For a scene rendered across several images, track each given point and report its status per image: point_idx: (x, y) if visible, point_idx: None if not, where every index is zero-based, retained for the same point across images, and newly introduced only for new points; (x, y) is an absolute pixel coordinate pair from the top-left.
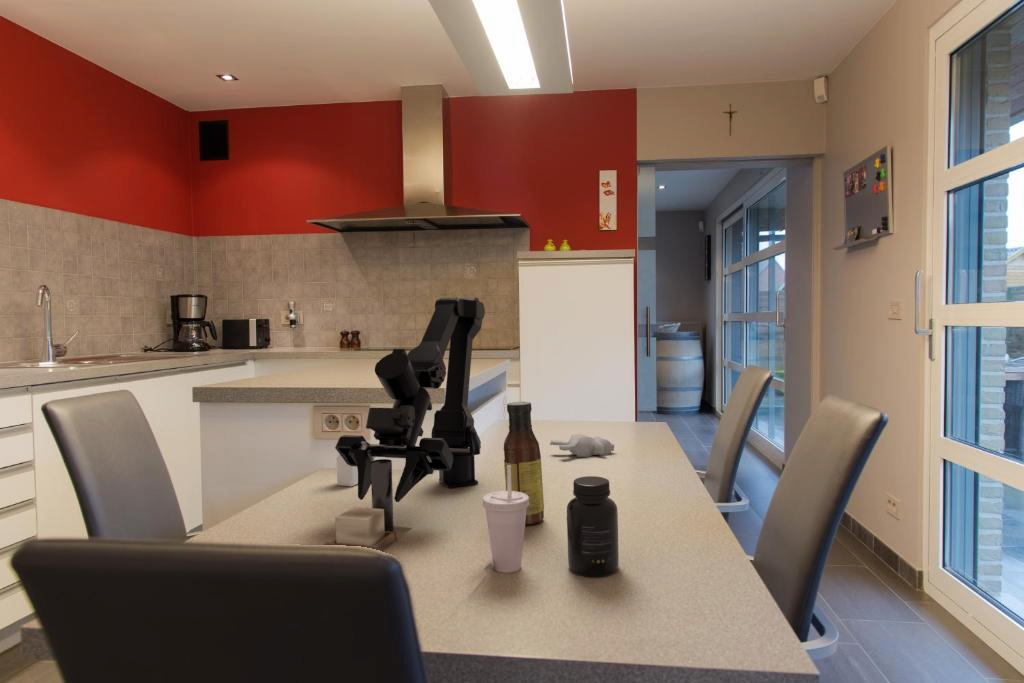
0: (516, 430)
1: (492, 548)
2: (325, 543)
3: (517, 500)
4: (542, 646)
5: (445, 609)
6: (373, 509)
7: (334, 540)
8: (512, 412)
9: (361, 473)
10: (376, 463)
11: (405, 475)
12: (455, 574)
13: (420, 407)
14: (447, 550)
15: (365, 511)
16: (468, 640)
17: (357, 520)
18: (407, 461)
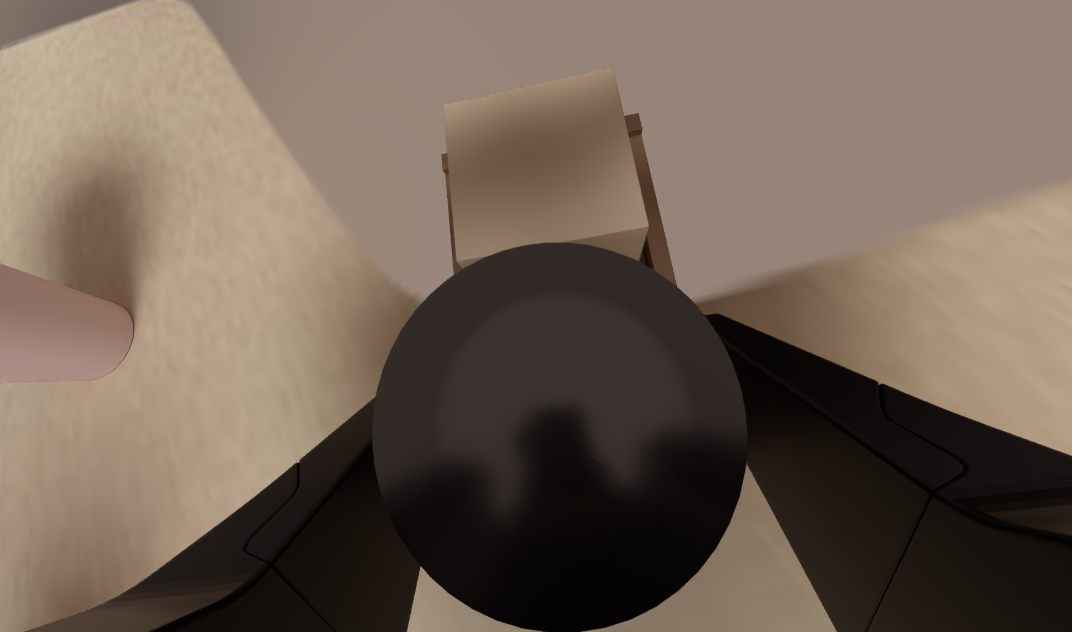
0: None
1: (50, 285)
2: (636, 118)
3: None
4: (14, 68)
5: (194, 94)
6: (507, 233)
7: (642, 173)
8: None
9: (860, 402)
10: (541, 274)
11: (300, 480)
12: (222, 245)
13: None
14: (299, 395)
15: (530, 193)
16: (128, 31)
17: (494, 97)
18: (148, 620)
